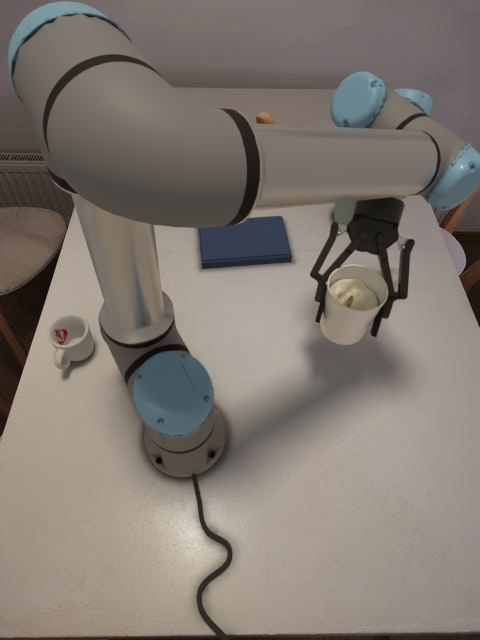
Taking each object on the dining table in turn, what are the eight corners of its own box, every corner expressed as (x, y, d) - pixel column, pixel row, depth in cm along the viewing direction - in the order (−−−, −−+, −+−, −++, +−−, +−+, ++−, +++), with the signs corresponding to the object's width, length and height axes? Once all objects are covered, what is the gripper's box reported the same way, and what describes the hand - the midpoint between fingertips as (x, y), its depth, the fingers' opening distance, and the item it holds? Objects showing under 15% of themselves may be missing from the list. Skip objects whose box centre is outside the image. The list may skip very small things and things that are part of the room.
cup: (84, 381, 88) (72, 363, 81) (48, 374, 88) (33, 355, 82) (104, 337, 93) (94, 316, 87) (69, 330, 94) (57, 310, 88)
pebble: (377, 268, 106) (383, 254, 102) (408, 283, 103) (415, 269, 99) (361, 290, 102) (367, 277, 98) (393, 307, 99) (400, 294, 95)
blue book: (291, 261, 106) (292, 255, 104) (202, 268, 105) (201, 262, 103) (281, 221, 114) (282, 215, 112) (198, 227, 112) (198, 221, 110)
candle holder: (337, 296, 84) (352, 254, 74) (379, 326, 80) (400, 287, 70) (304, 325, 80) (315, 286, 70) (346, 359, 76) (364, 322, 66)
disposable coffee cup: (347, 240, 111) (362, 194, 98) (316, 218, 115) (327, 171, 102) (373, 221, 115) (390, 175, 102) (342, 200, 119) (356, 153, 106)
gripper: (444, 212, 72) (404, 339, 77) (316, 185, 75) (285, 309, 80) (458, 209, 65) (413, 349, 70) (316, 179, 68) (282, 316, 72)
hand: (345, 328), depth 75 cm, fingers closed on candle holder, 9 cm apart
